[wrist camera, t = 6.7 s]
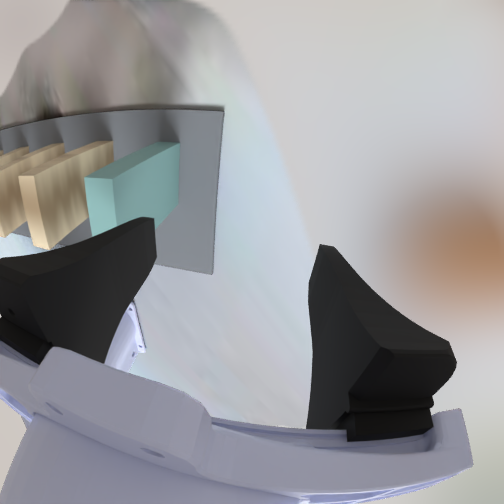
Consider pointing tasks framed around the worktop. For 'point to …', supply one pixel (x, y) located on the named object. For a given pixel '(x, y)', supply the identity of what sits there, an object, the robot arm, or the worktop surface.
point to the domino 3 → (61, 192)
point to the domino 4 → (134, 187)
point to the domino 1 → (13, 155)
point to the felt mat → (131, 140)
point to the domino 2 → (8, 188)
